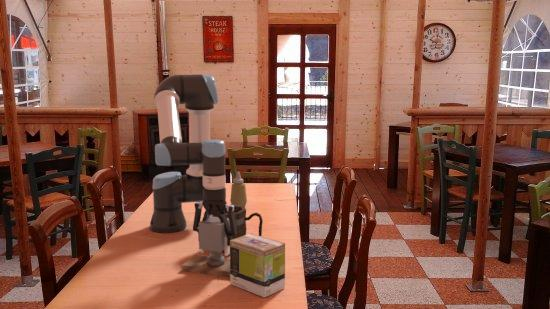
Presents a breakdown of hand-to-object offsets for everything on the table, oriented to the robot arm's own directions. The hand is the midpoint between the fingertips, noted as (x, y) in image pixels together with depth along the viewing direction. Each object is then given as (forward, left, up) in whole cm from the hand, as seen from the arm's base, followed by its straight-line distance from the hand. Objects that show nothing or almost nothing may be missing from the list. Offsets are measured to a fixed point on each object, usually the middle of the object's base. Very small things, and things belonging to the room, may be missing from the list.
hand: (215, 252), depth 167 cm
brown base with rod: (0, 0, -6) cm, 6 cm away
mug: (-1, +21, -6) cm, 22 cm away
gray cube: (0, 0, +2) cm, 2 cm away
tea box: (+18, -8, -6) cm, 21 cm away
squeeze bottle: (-21, +71, -6) cm, 74 cm away
